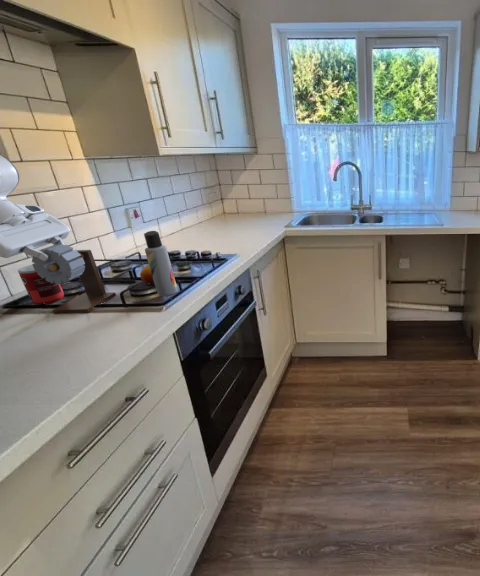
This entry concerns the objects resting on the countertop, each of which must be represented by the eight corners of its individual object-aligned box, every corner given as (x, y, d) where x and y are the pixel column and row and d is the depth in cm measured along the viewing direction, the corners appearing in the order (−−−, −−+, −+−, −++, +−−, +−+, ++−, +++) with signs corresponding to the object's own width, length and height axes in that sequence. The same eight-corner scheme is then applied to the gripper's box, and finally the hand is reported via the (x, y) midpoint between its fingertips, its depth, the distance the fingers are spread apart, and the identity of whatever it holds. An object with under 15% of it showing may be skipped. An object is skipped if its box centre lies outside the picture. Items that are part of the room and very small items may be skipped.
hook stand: (53, 313, 104) (31, 262, 98) (85, 296, 115) (67, 249, 109) (88, 312, 104) (68, 262, 98) (116, 295, 115) (100, 249, 109)
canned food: (42, 296, 116) (28, 264, 112) (70, 293, 117) (57, 261, 113) (25, 306, 109) (10, 272, 105) (55, 303, 110) (41, 270, 106)
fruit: (162, 283, 120) (145, 263, 118) (147, 293, 123) (131, 274, 121) (178, 274, 127) (163, 255, 125) (164, 284, 130) (149, 266, 128)
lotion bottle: (179, 288, 119) (163, 228, 112) (176, 294, 115) (159, 233, 107) (159, 291, 118) (142, 230, 110) (156, 297, 113) (137, 235, 105)
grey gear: (40, 284, 100) (25, 250, 96) (55, 277, 105) (41, 244, 101) (76, 283, 100) (63, 249, 96) (90, 276, 105) (77, 243, 101)
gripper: (-30, 220, 85) (29, 259, 89) (44, 204, 104) (90, 237, 108) (-40, 239, 87) (18, 276, 91) (35, 220, 106) (80, 251, 110)
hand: (57, 254), depth 99 cm, fingers closed on grey gear, 5 cm apart
